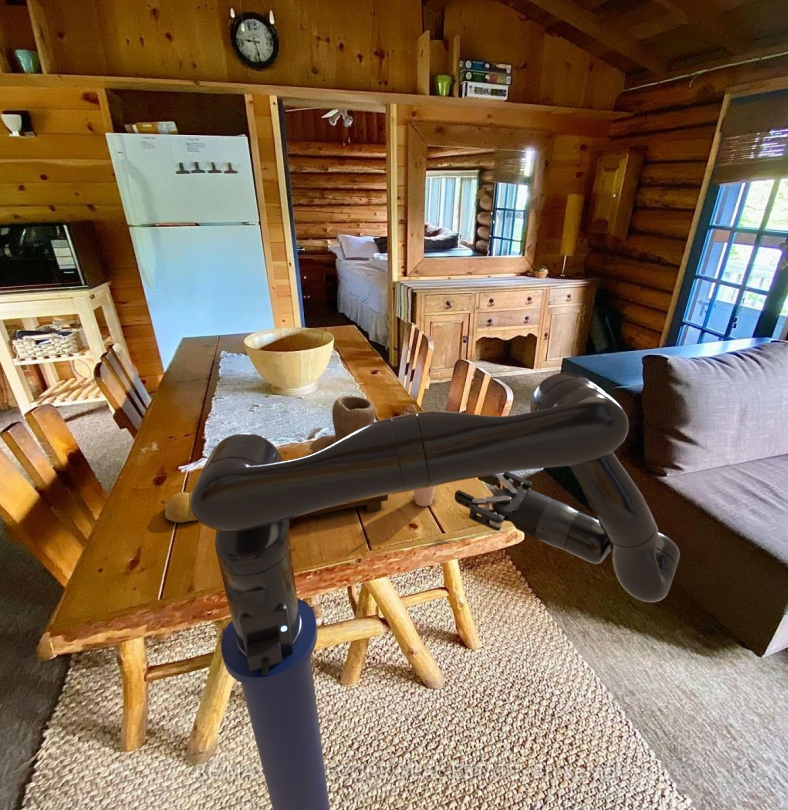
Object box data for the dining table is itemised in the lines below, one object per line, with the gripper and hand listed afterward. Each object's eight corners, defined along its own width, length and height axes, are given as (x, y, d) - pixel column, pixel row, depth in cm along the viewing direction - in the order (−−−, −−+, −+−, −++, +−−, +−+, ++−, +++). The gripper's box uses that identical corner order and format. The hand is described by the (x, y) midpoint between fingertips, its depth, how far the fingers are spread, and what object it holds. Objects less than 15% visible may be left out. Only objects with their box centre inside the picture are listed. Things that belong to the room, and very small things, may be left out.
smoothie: (409, 510, 92) (410, 454, 86) (408, 491, 98) (409, 437, 92) (439, 510, 92) (443, 454, 86) (437, 491, 98) (440, 437, 92)
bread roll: (214, 518, 89) (211, 503, 87) (165, 528, 86) (160, 512, 84) (216, 494, 95) (213, 479, 94) (171, 501, 93) (166, 486, 91)
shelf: (388, 507, 93) (388, 492, 91) (269, 531, 86) (266, 515, 84) (373, 475, 103) (373, 460, 101) (266, 494, 96) (264, 478, 94)
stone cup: (385, 451, 112) (385, 399, 105) (356, 474, 103) (354, 418, 96) (339, 434, 119) (336, 384, 112) (308, 455, 110) (303, 401, 103)
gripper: (565, 483, 80) (487, 452, 89) (533, 525, 70) (448, 486, 79) (558, 514, 84) (483, 482, 92) (527, 559, 74) (446, 518, 82)
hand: (467, 484), depth 86 cm, fingers open, 8 cm apart
